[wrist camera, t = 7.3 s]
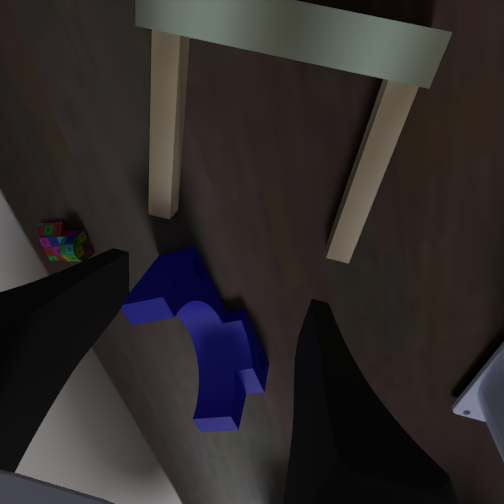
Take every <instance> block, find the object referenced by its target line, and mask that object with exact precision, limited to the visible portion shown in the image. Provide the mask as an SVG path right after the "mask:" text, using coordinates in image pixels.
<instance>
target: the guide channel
mask: <svg viewBox="0 0 504 504" xmlns="http://www.w3.org/2000/svg"><path fill="white" fill-rule="evenodd" d="M136 26H139V27H143V28H148V29H152V53H151V105H150V157H149V208H148V214H150V215H154V216H158V217H162V218H166V219H170V218H171V217H172V216H173V215H174V214H175V213H176V212H177V211H178V205H179V190H180V176H181V162H182V147H183V133H184V119H185V104H186V90H187V76H188V62H189V47H190V38H195V39H200V40H204V41H209V42H214V43H218V44H223V45H228V46H232V47H237V48H242V49H246V50H251V51H256V52H260V53H265V54H270V55H274V56H279V57H284V58H288V59H293V60H298V61H302V62H307V63H312V64H316V65H321V66H326V67H330V68H335V69H340V70H344V71H349V72H354V73H358V74H363V75H368V76H372V77H377V78H382V79H383V81H382V84H381V87H380V90H379V92H378V95H377V98H376V101H375V104H374V107H373V110H372V113H371V116H370V119H369V122H368V125H367V127H366V130H365V133H364V136H363V139H362V142H361V145H360V148H359V151H358V154H357V157H356V160H355V162H354V165H353V168H352V171H351V174H350V177H349V180H348V183H347V186H346V189H345V192H344V195H343V197H342V200H341V203H340V206H339V209H338V212H337V215H336V218H335V221H334V224H333V227H332V230H331V232H330V235H329V238H328V241H327V244H326V258H329V259H333V260H337V261H341V262H345V263H349V261H350V259H351V256H352V254H353V251H354V249H355V246H356V244H357V241H358V239H359V236H360V234H361V231H362V228H363V226H364V223H365V221H366V218H367V216H368V213H369V211H370V208H371V206H372V203H373V201H374V198H375V196H376V193H377V191H378V188H379V186H380V183H381V181H382V178H383V176H384V173H385V171H386V168H387V165H388V163H389V160H390V158H391V155H392V153H393V150H394V148H395V145H396V143H397V140H398V138H399V135H400V133H401V130H402V128H403V125H404V123H405V120H406V118H407V115H408V113H409V110H410V108H411V105H412V102H413V100H414V97H415V95H416V92H417V90H418V87H424V88H428V89H429V88H430V86H431V83H432V81H433V78H434V76H435V73H436V71H437V69H438V66H439V64H440V61H441V59H442V56H443V54H444V52H445V49H446V47H447V44H448V42H449V40H450V37H451V35H452V32H448V31H443V30H439V29H434V28H429V27H424V26H419V25H414V24H409V23H404V22H399V21H394V20H390V19H385V18H380V17H375V16H370V15H365V14H360V13H355V12H350V11H345V10H341V9H336V8H331V7H326V6H321V5H316V4H311V3H306V2H301V1H296V0H136Z"/></svg>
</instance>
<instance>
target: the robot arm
mask: <svg viewBox="0 0 504 504" xmlns="http://www.w3.org/2000/svg"><path fill="white" fill-rule="evenodd" d="M128 295H129V252H126V251H122V250H118V249H114V248H113V249H111V250H108V251H106V252H103V253H101V254H99V255H97V256H94V257H92V258H90V259H88V260H85V261H83V262H81V263H79V264H76V265H74V266H72V267H69V268H67V269H65V270H62V271H60V272H57V273H55V274H52V275H50V276H47V277H45V278H42V279H39V280H37V281H34V282H31V283H28V284H25V285H22V286H19V287H16V288H13V289H10V290H7V291H3V292H0V504H114V503H112V502H109V501H107V500H104V499H101V498H98V497H94V496H91V495H88V494H84V493H81V492H78V491H74V490H71V489H68V488H64V487H61V486H57V485H54V484H51V483H48V482H44V481H41V480H37V479H34V478H31V477H28V476H24V475H21V474H18V473H14V472H15V471H16V469H17V467H18V465H19V463H20V461H21V459H22V457H23V455H24V453H25V451H26V450H27V448H28V446H29V444H30V442H31V441H32V438H33V437H34V435H35V433H36V432H37V430H38V428H39V426H40V425H41V423H42V421H43V419H44V418H45V416H46V414H47V412H48V411H49V409H50V407H51V406H52V404H53V402H54V401H55V399H56V397H57V396H58V394H59V393H60V391H61V389H62V388H63V386H64V384H65V383H66V382H67V380H68V378H69V377H70V375H71V373H72V372H73V370H74V369H75V368H76V366H77V365H78V363H79V362H80V361H81V359H82V358H83V357H84V356H85V354H86V353H87V352H88V351H89V349H90V348H91V347H92V345H93V344H94V343H95V342H96V340H97V339H98V338H99V337H100V335H101V334H102V333H103V332H104V330H105V329H106V328H107V327H108V325H109V324H110V323H111V321H112V320H113V319H114V318H115V316H116V315H117V313H118V312H119V310H120V308H121V307H122V305H123V303H124V302H125V300H126V298H127V296H128ZM452 410H453V412H454V413H455V414H458V415H462V416H466V417H469V418H473V419H477V420H481V421H484V422H486V423H487V425H488V428H489V430H490V432H491V434H492V437H493V439H494V441H495V444H496V446H497V448H498V450H499V453H500V455H501V457H502V460H503V462H504V342H503V343H502V344H501V345H500V346H499V348H498V349H497V350H496V351H495V353H494V354H493V355H492V356H491V358H490V359H489V360H488V361H487V363H486V364H485V365H484V366H483V367H482V369H481V370H480V371H479V372H478V374H477V375H476V376H475V377H474V379H473V380H472V381H471V382H470V384H469V385H468V386H467V387H466V389H465V390H464V391H463V392H462V394H461V395H460V396H459V397H458V399H457V400H456V401H455V402H454V404H453V405H452ZM283 504H459V502H458V498H457V495H456V492H455V490H454V487H453V485H452V482H451V479H450V477H449V475H448V474H447V473H446V472H445V471H444V470H443V469H442V468H441V467H440V466H439V465H438V464H437V463H436V462H435V461H434V460H433V459H432V458H431V457H430V456H429V455H428V454H427V453H426V452H425V451H424V450H423V449H421V447H420V446H419V445H418V444H417V443H416V442H415V441H414V440H413V439H412V438H411V437H410V436H409V434H408V433H407V432H406V431H405V430H404V429H403V428H402V427H401V425H400V424H399V423H398V422H397V421H396V420H395V418H394V417H393V416H392V415H391V413H390V412H389V411H388V410H387V408H386V407H385V406H384V405H383V403H382V402H381V401H380V399H379V398H378V397H377V395H376V394H375V393H374V391H373V390H372V388H371V387H370V385H369V384H368V382H367V381H366V379H365V378H364V376H363V374H362V373H361V371H360V369H359V368H358V366H357V364H356V362H355V360H354V359H353V357H352V355H351V353H350V351H349V349H348V347H347V345H346V343H345V341H344V339H343V337H342V335H341V332H340V330H339V328H338V326H337V323H336V321H335V318H334V316H333V313H332V311H331V308H330V306H329V304H328V303H326V302H323V301H319V300H315V299H312V300H311V302H310V305H309V308H308V311H307V314H306V317H305V320H304V322H303V325H302V328H301V331H300V334H299V337H298V342H297V349H296V356H295V370H294V417H293V431H292V440H291V448H290V457H289V464H288V472H287V480H286V487H285V494H284V502H283Z"/></svg>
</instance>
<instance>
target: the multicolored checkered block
mask: <svg viewBox="0 0 504 504" xmlns="http://www.w3.org/2000/svg"><path fill="white" fill-rule="evenodd" d="M36 226H37V228H38V231H39V233H40V235H41V237H39V239H40V241H41V243H42V245H43V247H44V249H45V251H46V253H47V255H48V257H49V259H50V261H54V260H66V261H85V260H87V259H88V258H89V257H91V256H92V255H93V254H94V253H95V250H94V248H93V246H92V243H91V241H90V239H89V236H88V234H87V231H86V229H82V230H66V228H65V226H64V223H63V222H51V223H38V224H36Z"/></svg>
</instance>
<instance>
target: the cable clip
mask: <svg viewBox="0 0 504 504" xmlns="http://www.w3.org/2000/svg"><path fill="white" fill-rule="evenodd" d="M121 309H122V310H123V312H124V313H125V315H126V316H127V318H128V319H129V321H130V323H131V324H132V325H134V324H140V323H145V322H151V321H157V320H162V319H168V318H174V317H175V316H176V315H177V316H178V317H179V318H180V319H181V320H182V322H183V323H184V324H185V326H186V327H187V329H188V331H189V333H190V335H191V338H192V340H193V343H194V346H195V350H196V354H197V360H198V368H199V392H198V400H197V405H196V410H195V413H194V417H193V420H194V422H195V423H196V425H197V427H198V428H199V430H200V431H201V432H212V431H230V430H238V429H239V425H240V420H241V416H242V411H243V407H244V402H245V398H246V394H252V393H264V391H265V385H266V379H267V373H268V367H269V363H268V361H267V358H266V356H265V354H264V352H263V350H262V347H261V345H260V343H259V341H258V338H257V336H256V334H255V332H254V330H253V327H252V325H251V323H250V321H249V318H248V316H247V314H246V312H245V309H241V310H236V311H230V312H226V310H225V308H224V306H223V304H222V302H221V299H220V297H219V295H218V293H217V291H216V289H215V287H214V285H213V283H212V281H211V279H210V277H209V274H208V272H207V270H206V268H205V266H204V264H203V262H202V260H201V258H200V256H199V254H198V252H197V249H196V247H192V248H188V249H184V250H180V251H176V252H171V253H167V254H163V255H159V256H158V258H157V259H156V260H155V261H154V263H153V264H152V265H151V267H150V268H149V269H148V270H147V272H146V273H145V274H144V275H143V277H142V278H141V279H140V281H139V282H138V283H137V284H136V286H135V287H134V288H133V289H132V291H131V292H130V293H129V295H128V296H127V298H126V300H125V302H124V303H123V305H122V307H121Z"/></svg>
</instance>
